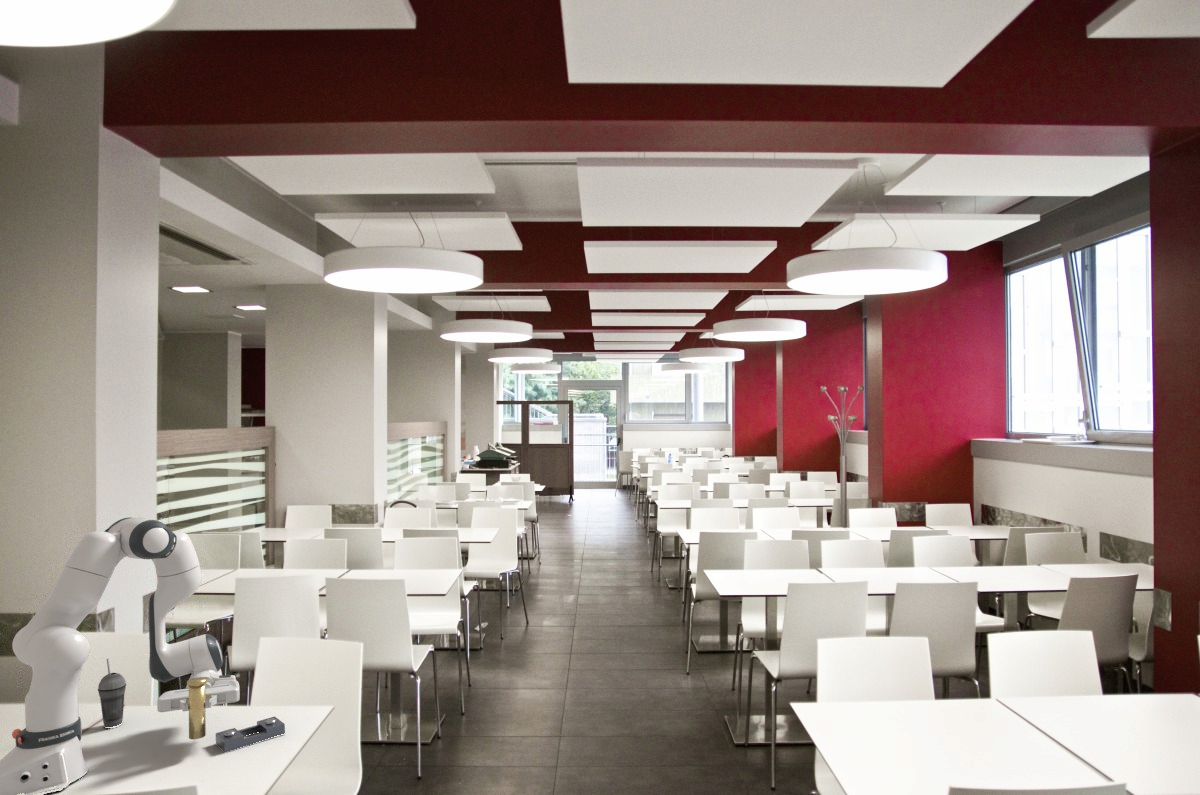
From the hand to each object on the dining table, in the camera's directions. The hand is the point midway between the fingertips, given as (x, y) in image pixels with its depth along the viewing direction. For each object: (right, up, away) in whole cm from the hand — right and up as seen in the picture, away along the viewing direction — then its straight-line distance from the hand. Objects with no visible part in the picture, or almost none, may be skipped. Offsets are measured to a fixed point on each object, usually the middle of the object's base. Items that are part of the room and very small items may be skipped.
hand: (196, 706), depth 207 cm
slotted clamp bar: (+10, -13, +10) cm, 19 cm away
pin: (0, -8, +1) cm, 8 cm away
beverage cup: (-37, -15, +24) cm, 47 cm away
